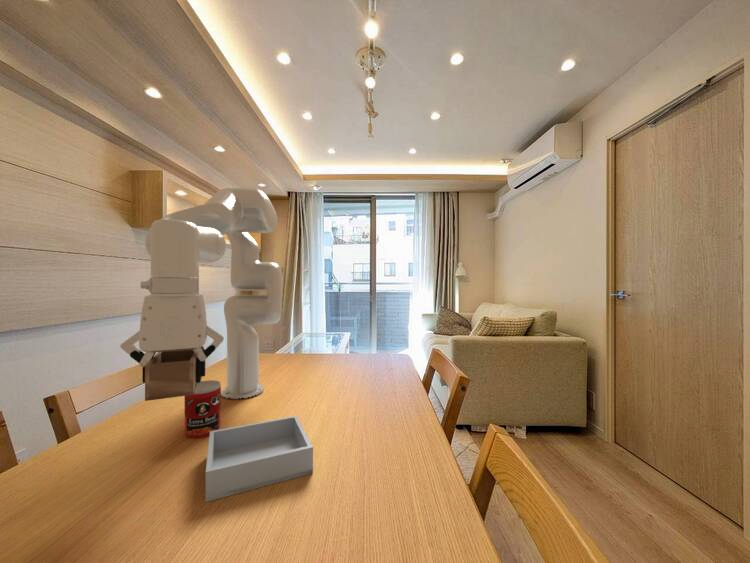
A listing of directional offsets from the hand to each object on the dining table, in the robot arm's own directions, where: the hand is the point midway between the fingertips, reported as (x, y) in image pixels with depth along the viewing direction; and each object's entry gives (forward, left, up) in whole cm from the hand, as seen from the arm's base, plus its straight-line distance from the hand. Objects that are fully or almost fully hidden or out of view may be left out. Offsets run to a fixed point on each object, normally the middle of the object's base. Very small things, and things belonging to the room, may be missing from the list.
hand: (175, 382), depth 57 cm
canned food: (-18, +3, -18) cm, 25 cm away
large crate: (+2, +14, -18) cm, 23 cm away
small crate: (0, 0, -1) cm, 1 cm away
